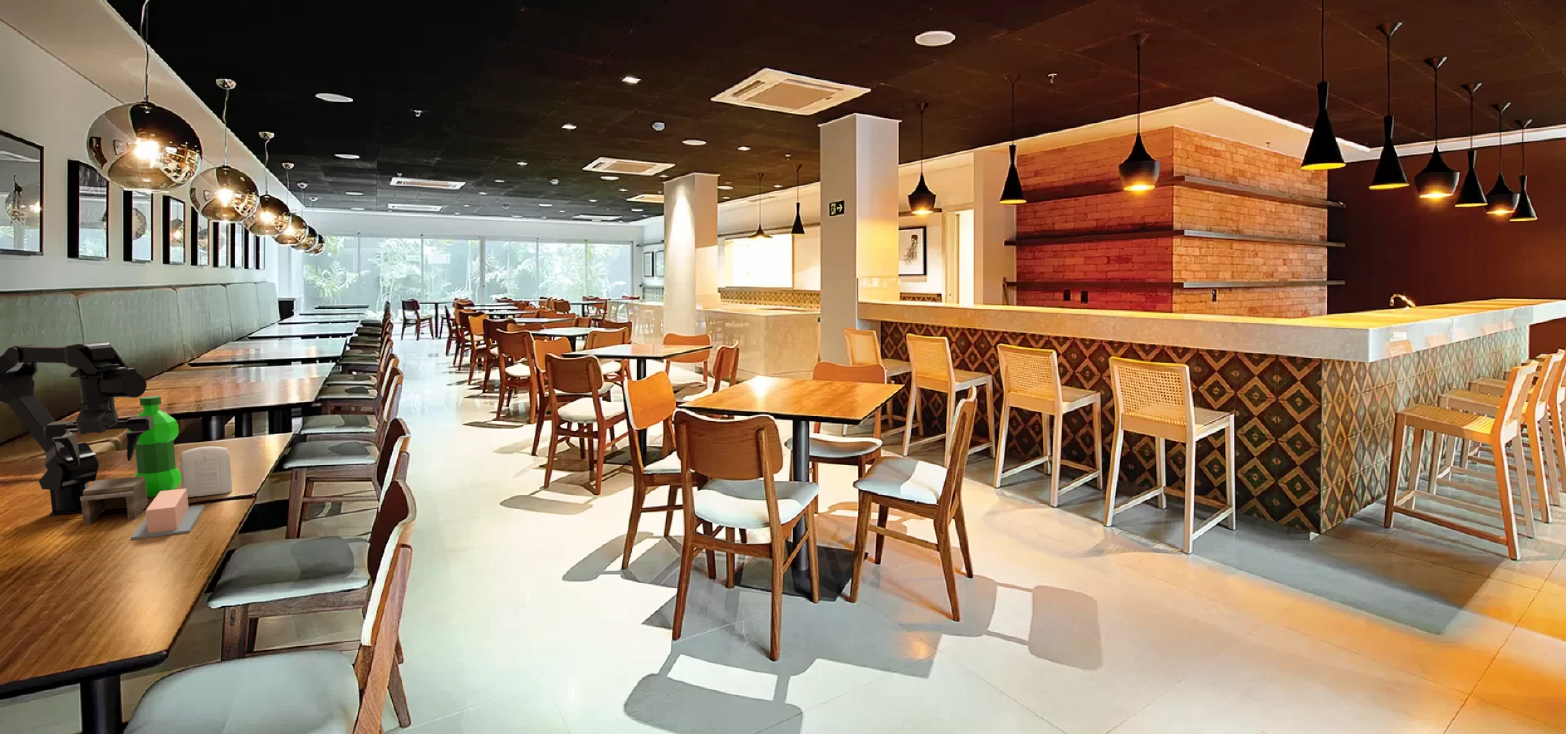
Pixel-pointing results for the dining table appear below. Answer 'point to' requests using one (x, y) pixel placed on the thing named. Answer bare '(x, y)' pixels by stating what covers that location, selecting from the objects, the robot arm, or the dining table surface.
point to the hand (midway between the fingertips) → (104, 462)
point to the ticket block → (167, 510)
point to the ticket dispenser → (114, 497)
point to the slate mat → (184, 527)
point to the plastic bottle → (157, 449)
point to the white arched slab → (206, 471)
